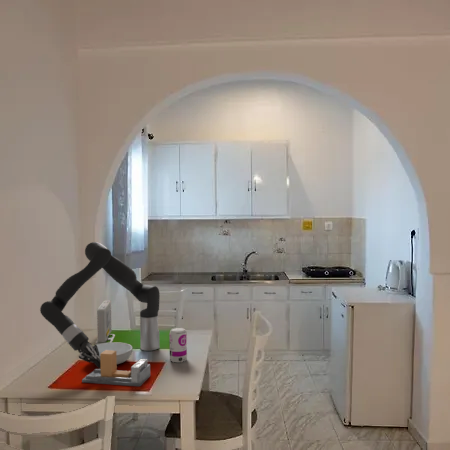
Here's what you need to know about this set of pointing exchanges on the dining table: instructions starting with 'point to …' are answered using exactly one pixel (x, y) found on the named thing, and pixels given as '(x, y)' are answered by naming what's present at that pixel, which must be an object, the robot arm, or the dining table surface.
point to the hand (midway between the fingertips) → (101, 366)
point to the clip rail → (137, 378)
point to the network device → (104, 322)
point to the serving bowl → (121, 350)
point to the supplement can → (178, 344)
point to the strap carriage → (111, 365)
